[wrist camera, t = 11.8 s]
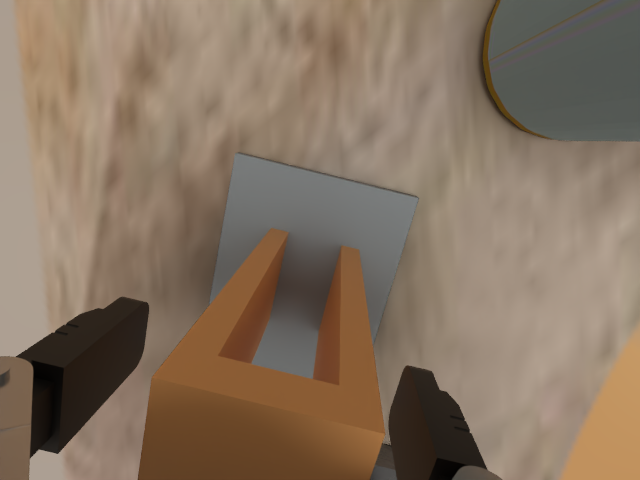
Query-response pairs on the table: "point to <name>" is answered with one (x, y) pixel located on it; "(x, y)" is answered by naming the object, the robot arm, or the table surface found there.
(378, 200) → the mat
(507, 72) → the bottle
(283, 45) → the table surface
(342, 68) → the table surface
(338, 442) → the link
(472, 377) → the table surface
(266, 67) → the table surface
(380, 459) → the stand
